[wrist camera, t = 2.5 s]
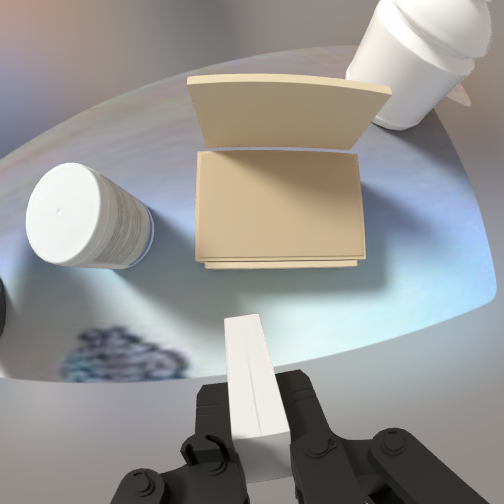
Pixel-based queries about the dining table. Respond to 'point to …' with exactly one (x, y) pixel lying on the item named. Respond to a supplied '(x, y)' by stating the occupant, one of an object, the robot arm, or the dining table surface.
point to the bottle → (420, 53)
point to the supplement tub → (87, 220)
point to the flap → (284, 110)
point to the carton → (278, 210)
